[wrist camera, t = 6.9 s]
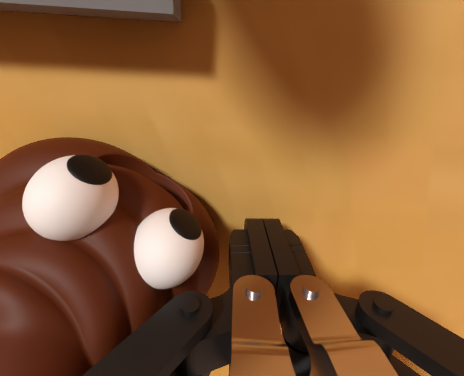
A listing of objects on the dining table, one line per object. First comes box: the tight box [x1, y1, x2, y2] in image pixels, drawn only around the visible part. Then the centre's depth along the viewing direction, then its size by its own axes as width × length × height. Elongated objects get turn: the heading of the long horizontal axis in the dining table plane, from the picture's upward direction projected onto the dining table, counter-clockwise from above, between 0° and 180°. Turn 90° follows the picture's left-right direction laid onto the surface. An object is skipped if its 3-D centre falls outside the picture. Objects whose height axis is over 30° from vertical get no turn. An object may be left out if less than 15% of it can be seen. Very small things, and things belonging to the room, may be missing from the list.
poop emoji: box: [0, 138, 219, 376], centre depth 9 cm, size 10×8×9 cm
